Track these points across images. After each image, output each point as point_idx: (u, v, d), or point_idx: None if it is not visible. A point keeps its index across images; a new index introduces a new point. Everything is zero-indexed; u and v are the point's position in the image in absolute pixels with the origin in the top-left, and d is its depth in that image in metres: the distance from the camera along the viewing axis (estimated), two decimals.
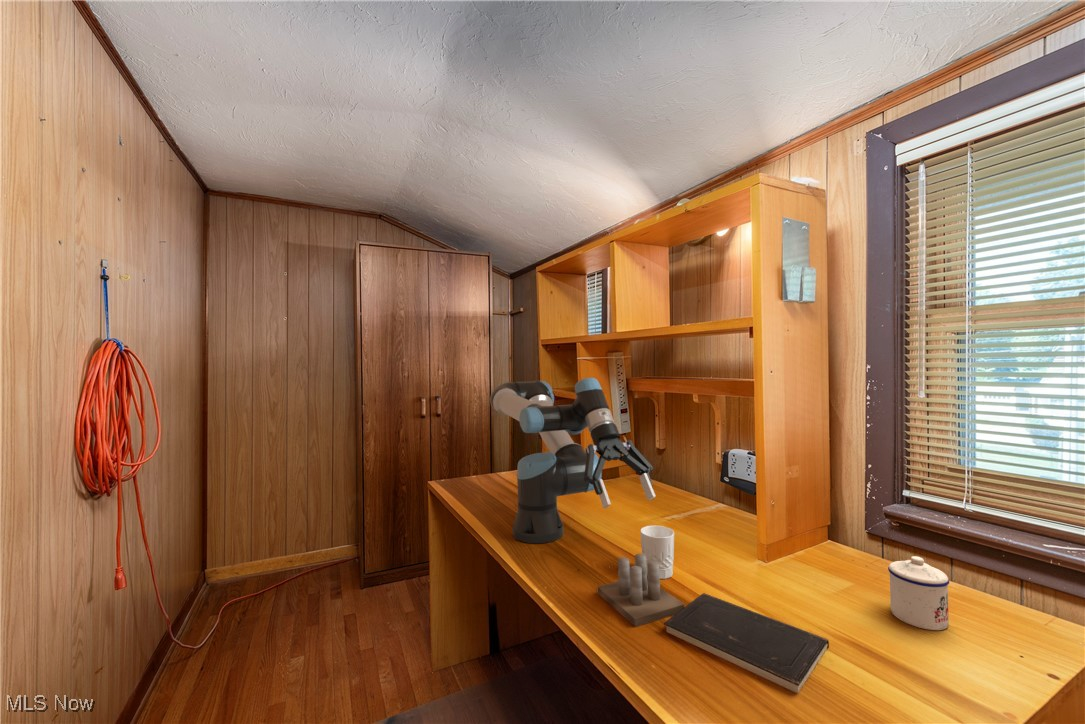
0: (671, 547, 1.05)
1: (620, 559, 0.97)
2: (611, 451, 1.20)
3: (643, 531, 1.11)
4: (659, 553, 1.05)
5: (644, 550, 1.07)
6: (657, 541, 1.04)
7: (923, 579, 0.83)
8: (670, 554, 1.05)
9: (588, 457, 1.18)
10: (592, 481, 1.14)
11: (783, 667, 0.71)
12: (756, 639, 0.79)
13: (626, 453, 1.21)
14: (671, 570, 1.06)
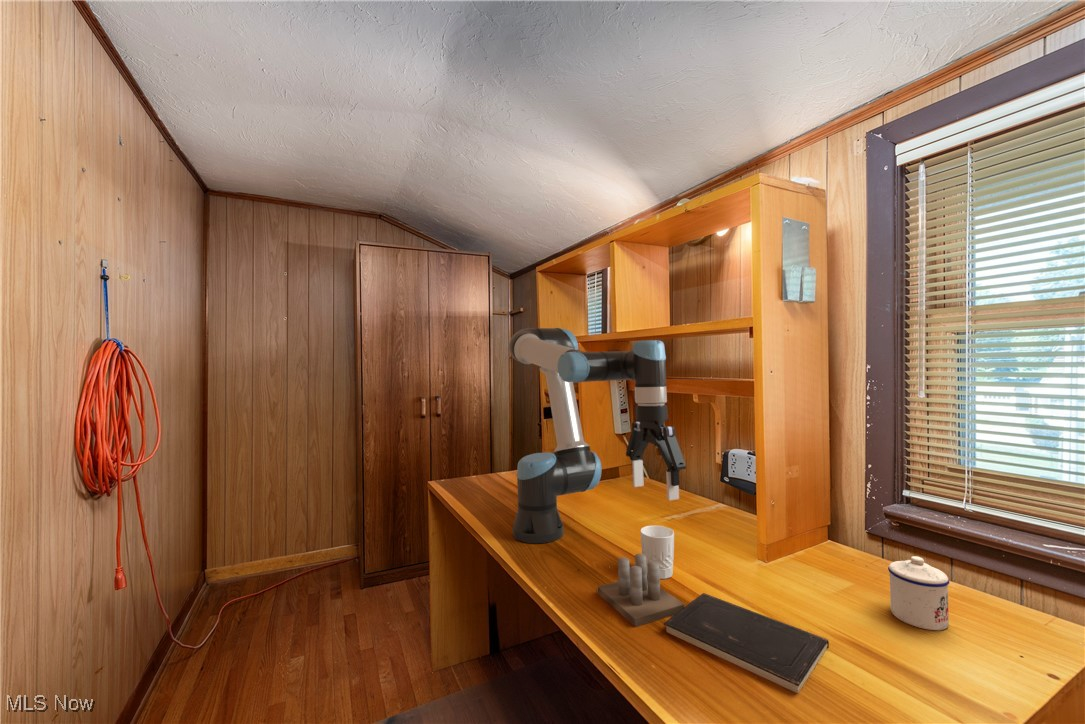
0: (671, 547, 1.05)
1: (620, 559, 0.97)
2: None
3: (643, 531, 1.11)
4: (659, 553, 1.05)
5: (644, 550, 1.07)
6: (657, 541, 1.04)
7: (923, 579, 0.83)
8: (670, 554, 1.05)
9: (674, 441, 1.02)
10: (677, 471, 1.01)
11: (783, 668, 0.71)
12: (756, 639, 0.79)
13: None
14: (671, 570, 1.06)
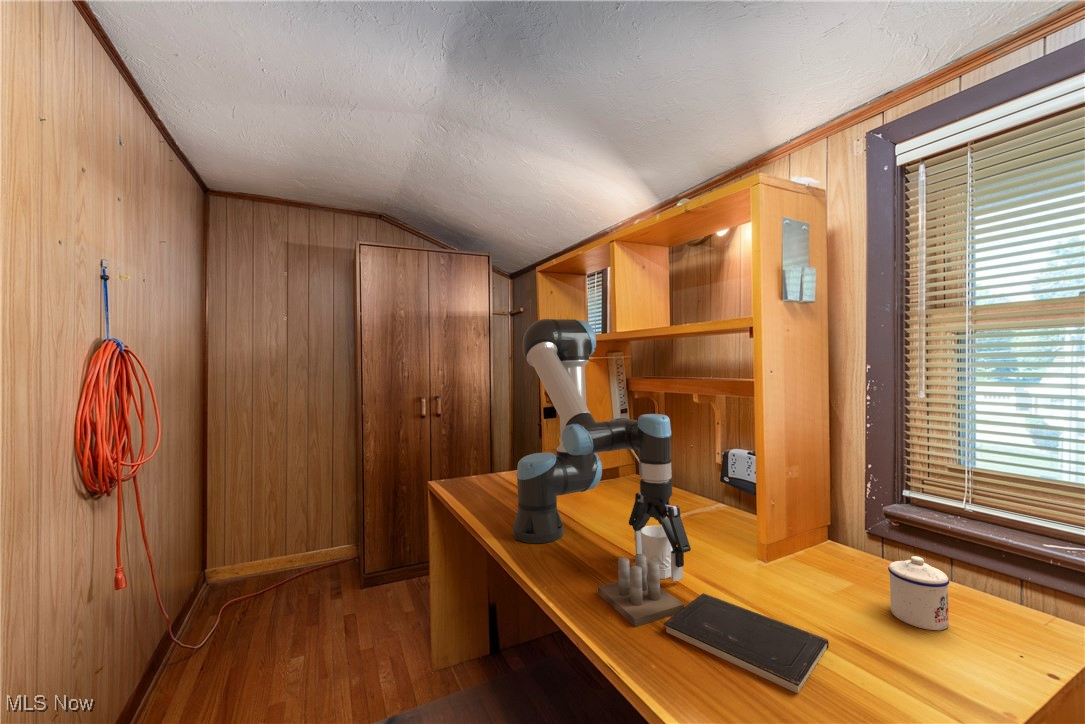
0: (671, 547, 1.05)
1: (620, 559, 0.97)
2: None
3: (643, 531, 1.11)
4: (659, 553, 1.05)
5: (644, 550, 1.07)
6: (657, 541, 1.04)
7: (923, 579, 0.83)
8: (670, 554, 1.05)
9: (678, 522, 1.01)
10: (681, 552, 1.00)
11: (783, 668, 0.71)
12: (756, 639, 0.79)
13: None
14: None
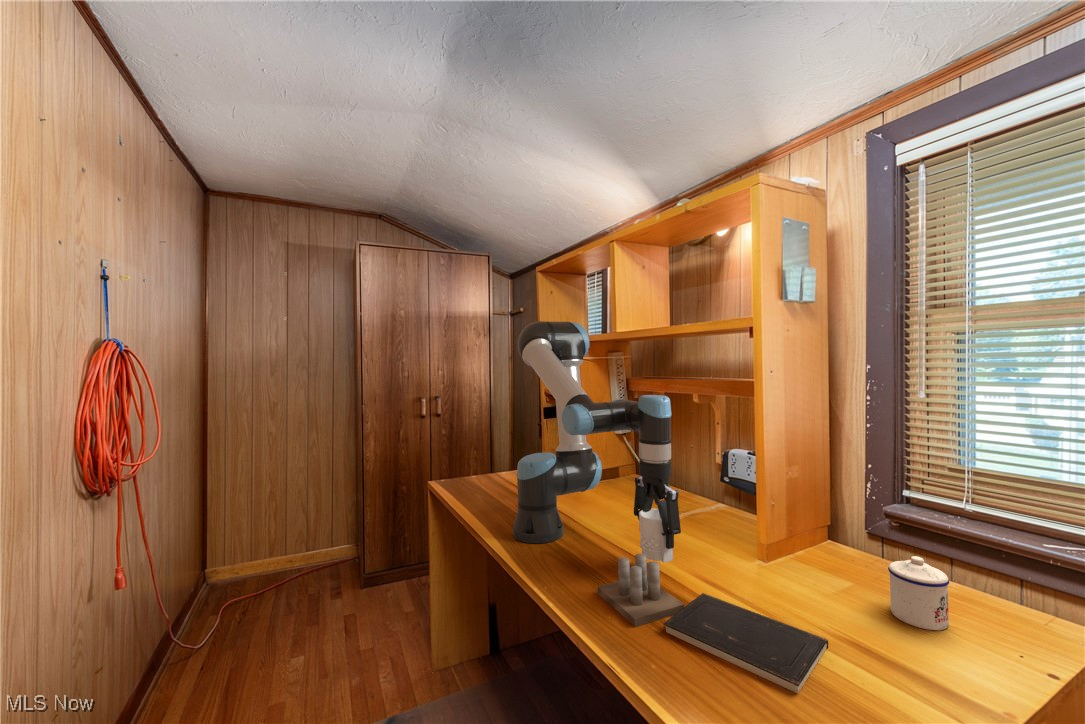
0: None
1: (620, 559, 0.97)
2: None
3: (642, 514, 1.11)
4: (657, 535, 1.05)
5: (642, 532, 1.07)
6: (656, 524, 1.05)
7: (923, 579, 0.83)
8: None
9: (674, 506, 1.03)
10: (672, 534, 1.03)
11: (783, 668, 0.71)
12: (756, 639, 0.79)
13: None
14: None
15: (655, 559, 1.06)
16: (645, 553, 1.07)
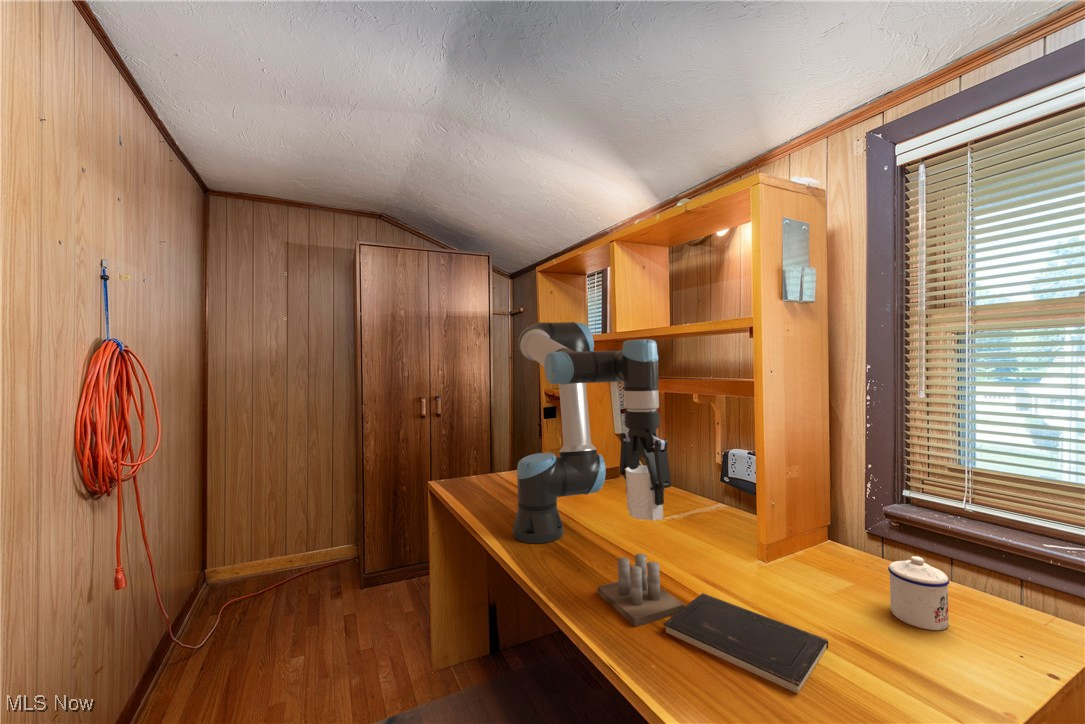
0: None
1: (620, 559, 0.97)
2: None
3: (628, 471, 1.01)
4: (646, 491, 0.95)
5: (629, 489, 0.97)
6: (644, 478, 0.95)
7: (923, 579, 0.83)
8: None
9: (664, 457, 0.93)
10: (661, 489, 0.94)
11: (783, 668, 0.71)
12: (755, 639, 0.79)
13: None
14: None
15: (644, 518, 0.96)
16: (633, 512, 0.97)
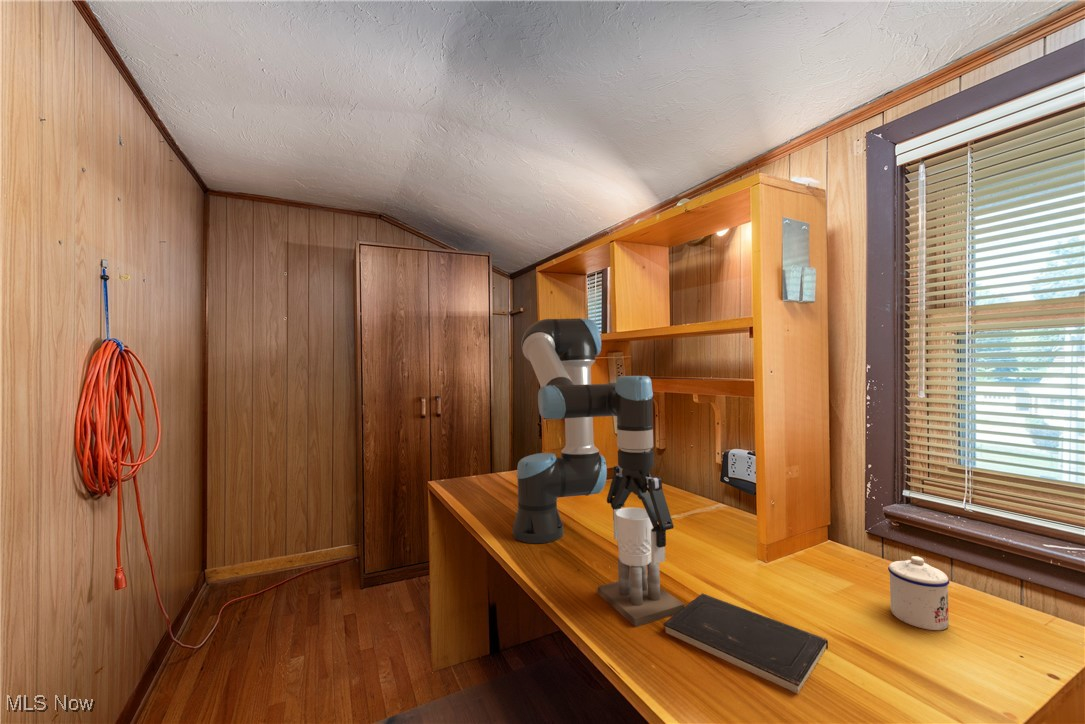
0: (649, 531, 0.93)
1: None
2: None
3: (619, 513, 0.99)
4: (635, 537, 0.93)
5: (619, 534, 0.95)
6: (633, 524, 0.92)
7: (923, 579, 0.83)
8: (648, 538, 0.93)
9: (660, 496, 0.88)
10: (663, 530, 0.87)
11: (783, 668, 0.71)
12: (755, 639, 0.79)
13: None
14: (649, 557, 0.94)
15: (633, 564, 0.93)
16: (622, 558, 0.95)
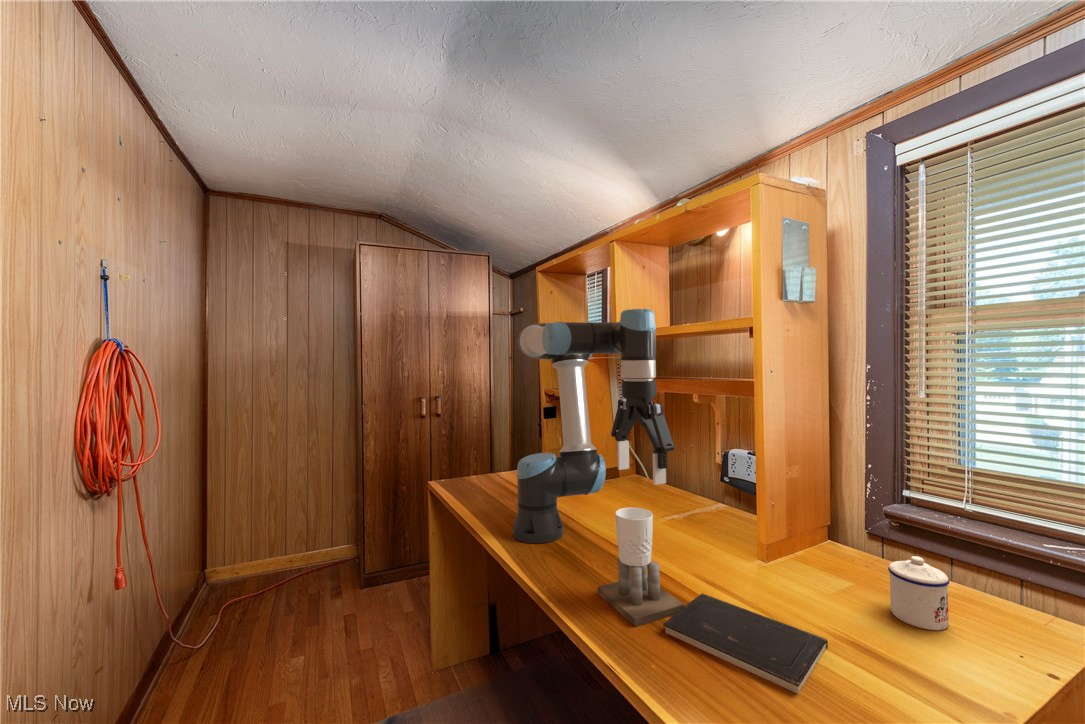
0: (649, 531, 0.93)
1: None
2: None
3: (619, 513, 0.99)
4: (635, 537, 0.93)
5: (619, 534, 0.95)
6: (633, 524, 0.92)
7: (923, 579, 0.83)
8: (648, 538, 0.93)
9: (662, 420, 0.92)
10: (664, 452, 0.91)
11: (783, 668, 0.71)
12: (755, 639, 0.79)
13: None
14: (649, 557, 0.94)
15: (633, 564, 0.93)
16: (622, 558, 0.95)
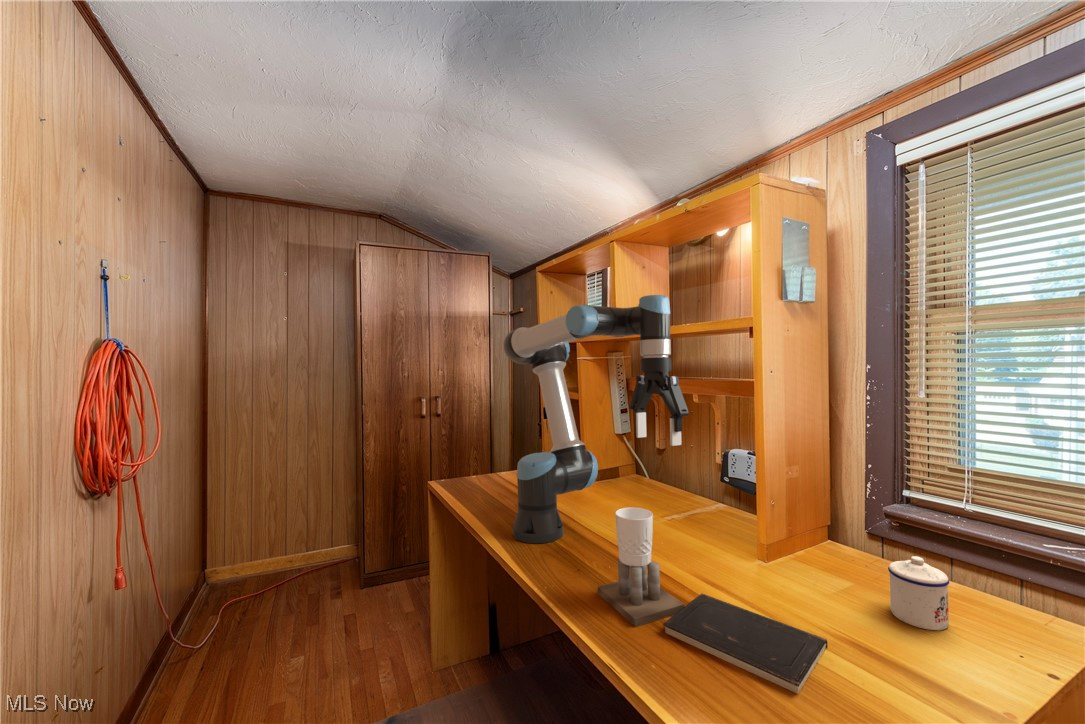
0: (649, 531, 0.93)
1: None
2: None
3: (619, 513, 0.99)
4: (635, 537, 0.93)
5: (619, 534, 0.95)
6: (633, 524, 0.92)
7: (923, 579, 0.83)
8: (648, 538, 0.93)
9: (677, 390, 1.07)
10: (680, 417, 1.06)
11: (783, 668, 0.71)
12: (755, 639, 0.79)
13: None
14: (649, 557, 0.94)
15: (633, 564, 0.93)
16: (622, 558, 0.95)
